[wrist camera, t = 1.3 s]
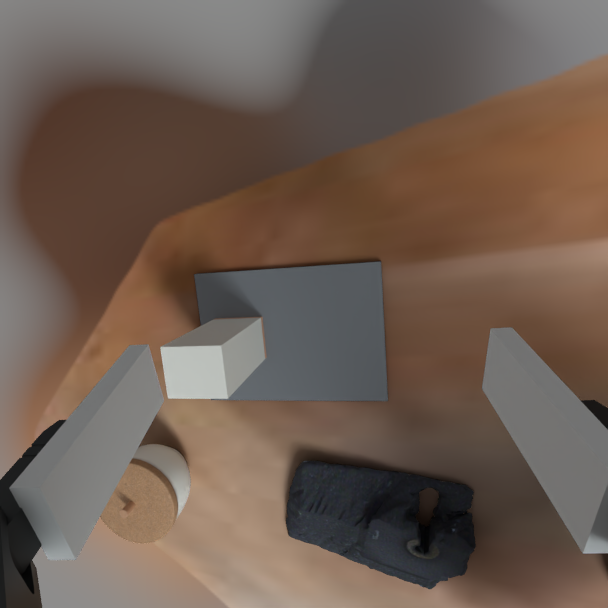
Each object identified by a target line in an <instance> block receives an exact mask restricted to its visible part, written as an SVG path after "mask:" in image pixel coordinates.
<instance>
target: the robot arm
mask: <svg viewBox="0 0 608 608" xmlns="http://www.w3.org/2000/svg"><path fill="white" fill-rule="evenodd" d="M482 390H483V391H484V393H485V394H486V396H487V398H488V399H489V401H490V403H491V404H492V406H493V408H494V409H495V411H496V412H497V414H498V416H499V417H500V419H501V421H502V422H503V424H504V426H505V427H506V429H507V430H508V432H509V434H510V435H511V437H512V439H513V440H514V442H515V444H516V445H517V447H518V448H519V450H520V452H521V453H522V455H523V457H524V458H525V460H526V461H527V463H528V465H529V466H530V468H531V470H532V471H533V473H534V475H535V476H536V478H537V479H538V481H539V483H540V484H541V486H542V488H543V489H544V491H545V493H546V494H547V496H548V497H549V499H550V501H551V502H552V504H553V506H554V507H555V509H556V511H557V512H558V514H559V515H560V517H561V519H562V520H563V522H564V524H565V525H566V527H567V528H568V530H569V532H570V533H571V535H572V537H573V538H574V540H575V542H576V543H577V545H578V546H579V548H580V550H581V551H582V553H583V554H589V553H608V408H606V407H605V406H603V405H601V404H600V403H598V402H596V401H595V400H585V401H580V400H579V399H578V398H577V396H576V395H575V394H574V393H573V392H572V391H571V390H570V389H569V388H568V387H567V386H566V385H565V384H564V383H563V382H562V380H561V379H560V378H559V377H558V376H557V375H556V374H555V373H554V372H553V371H552V370H551V369H550V368H549V367H548V366H547V364H546V363H545V362H544V361H543V360H542V359H541V358H540V357H539V356H538V355H537V354H536V353H535V352H534V351H533V350H532V348H531V347H530V346H529V345H528V344H527V343H526V342H525V341H524V340H523V339H522V338H521V337H520V336H519V335H518V334H517V333H516V331H515V330H514V329H513V328H491V330H490V336H489V343H488V350H487V357H486V364H485V371H484V378H483V385H482ZM163 402H164V399H163V395H162V391H161V388H160V384H159V381H158V377H157V373H156V370H155V366H154V363H153V359H152V355H151V352H150V348H149V345H129V347H128V348H127V349H126V350H125V351H124V353H123V354H122V355H121V356H120V357H119V359H118V360H117V361H116V362H115V363H114V364H113V366H112V367H111V368H110V369H109V370H108V372H107V373H106V374H105V375H104V376H103V377H102V379H101V380H100V381H99V382H98V383H97V385H96V386H95V387H94V388H93V389H92V391H91V392H90V393H89V394H88V395H87V396H86V398H85V399H84V400H83V401H82V402H81V404H80V405H79V406H78V407H77V408H76V410H75V411H74V412H73V413H72V414H71V415H70V417H69V418H68V419H67V420H59V421H57V422H56V423H55V424H53V425H52V426H50V427H49V428H48V429H46V430H45V431H43V432H42V434H41V435H40V436H39V437H38V438H37V439H36V440H35V441H34V443H33V444H32V447H29V448H28V449H27V450H26V452H25V453H24V454H23V456H22V458H19V460H18V461H17V462H16V463H15V464H14V465H13V466H12V468H10V470H9V471H8V472H7V473H6V474H5V475H4V476H3V477H2V479H1V480H0V608H42V603H41V596H40V590H39V583H38V577H37V570H36V567H35V565H34V563H33V561H32V559H33V558H34V556H35V555H36V553H37V551H38V550H39V549H40V547H42V549H43V551H44V552H45V554H46V556H47V558H48V559H49V560H76V559H77V557H78V555H79V553H80V551H81V550H82V548H83V546H84V544H85V543H86V541H87V539H88V537H89V535H90V534H91V532H92V530H93V528H94V526H95V525H96V523H97V521H98V519H99V517H100V516H101V514H102V512H103V510H104V508H105V507H106V505H107V503H108V501H109V499H110V497H111V496H112V494H113V492H114V490H115V488H116V487H117V485H118V483H119V481H120V479H121V478H122V476H123V474H124V472H125V470H126V469H127V467H128V465H129V463H130V461H131V460H132V458H133V456H134V454H135V452H136V450H137V449H138V447H139V445H140V443H141V441H142V440H143V438H144V436H145V434H146V432H147V431H148V429H149V427H150V425H151V423H152V422H153V420H154V418H155V416H156V414H157V413H158V411H159V409H160V407H161V405H162V403H163Z"/></svg>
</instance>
